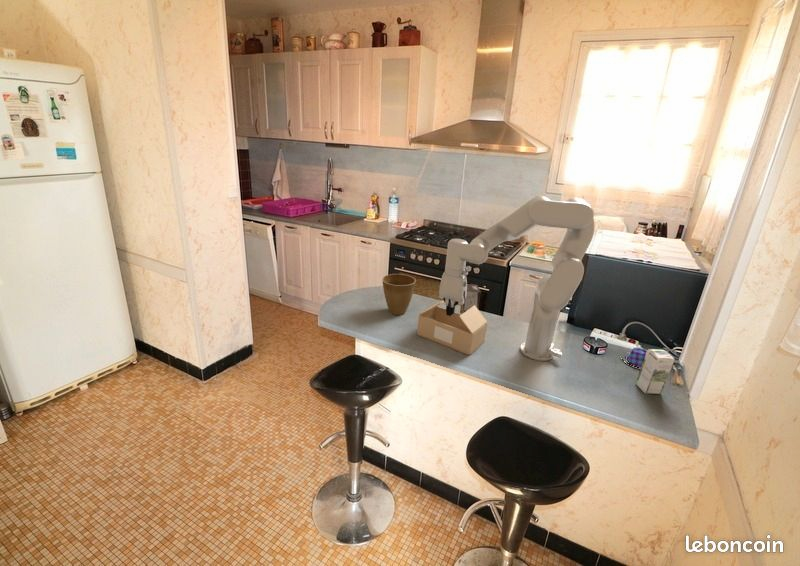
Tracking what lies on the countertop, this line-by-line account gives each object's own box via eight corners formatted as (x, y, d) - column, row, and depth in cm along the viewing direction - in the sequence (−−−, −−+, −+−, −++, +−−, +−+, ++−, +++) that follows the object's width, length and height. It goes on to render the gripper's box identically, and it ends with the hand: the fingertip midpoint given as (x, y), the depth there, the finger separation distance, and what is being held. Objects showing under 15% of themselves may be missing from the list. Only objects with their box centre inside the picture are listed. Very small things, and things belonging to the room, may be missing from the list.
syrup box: (650, 384, 137) (663, 348, 131) (661, 395, 131) (675, 358, 126) (634, 383, 136) (647, 348, 131) (645, 394, 131) (658, 357, 125)
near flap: (458, 316, 145) (459, 315, 145) (474, 305, 155) (474, 305, 155) (471, 333, 144) (472, 333, 143) (486, 321, 154) (487, 321, 153)
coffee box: (476, 326, 170) (481, 292, 164) (461, 325, 170) (466, 291, 164) (473, 316, 178) (477, 284, 173) (459, 315, 178) (463, 283, 173)
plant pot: (414, 306, 185) (417, 275, 179) (411, 320, 171) (413, 287, 165) (384, 303, 187) (385, 271, 181) (377, 316, 173) (379, 283, 167)
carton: (484, 342, 157) (487, 322, 154) (469, 356, 147) (472, 335, 143) (433, 323, 170) (435, 305, 166) (416, 334, 159) (418, 315, 156)
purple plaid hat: (647, 356, 155) (651, 345, 153) (661, 373, 144) (665, 361, 142) (615, 352, 156) (618, 341, 154) (627, 369, 145) (631, 357, 143)
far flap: (450, 297, 161) (449, 297, 161) (433, 307, 151) (433, 306, 151) (436, 304, 166) (435, 304, 166) (419, 314, 156) (419, 314, 156)
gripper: (476, 273, 147) (470, 317, 154) (442, 264, 155) (438, 306, 162) (468, 279, 142) (462, 323, 148) (433, 269, 149) (428, 312, 156)
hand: (449, 314), depth 155 cm, fingers closed
